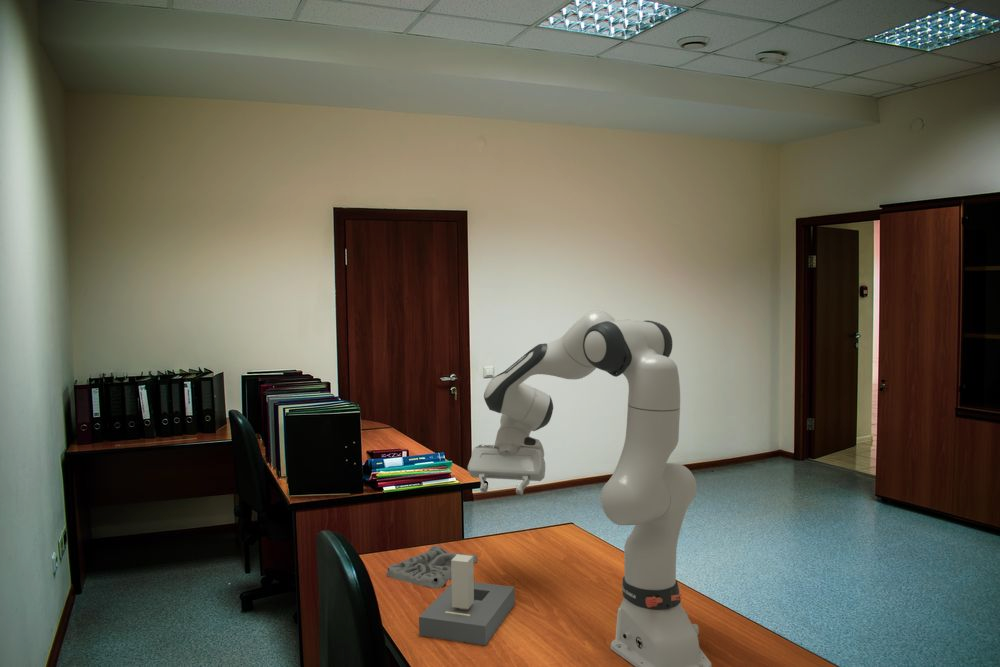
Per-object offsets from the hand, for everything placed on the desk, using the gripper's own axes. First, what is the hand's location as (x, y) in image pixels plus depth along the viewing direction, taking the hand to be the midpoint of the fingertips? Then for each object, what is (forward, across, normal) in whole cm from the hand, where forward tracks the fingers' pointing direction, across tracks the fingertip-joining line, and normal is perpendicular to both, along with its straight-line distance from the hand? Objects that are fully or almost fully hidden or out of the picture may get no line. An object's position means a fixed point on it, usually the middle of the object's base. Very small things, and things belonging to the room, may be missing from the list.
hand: (501, 492), depth 180 cm
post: (+32, -4, +7) cm, 33 cm away
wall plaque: (+10, -24, +29) cm, 39 cm away
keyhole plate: (+29, -4, +10) cm, 31 cm away
